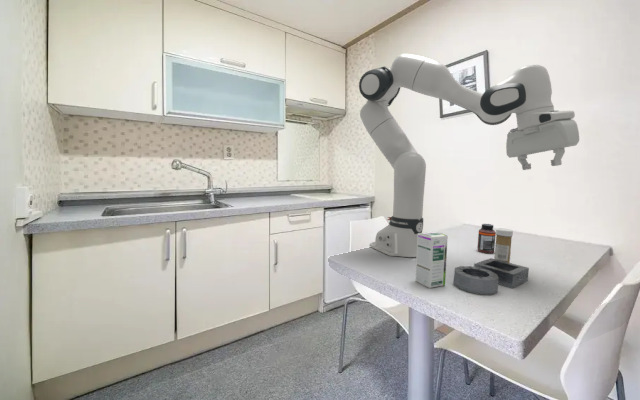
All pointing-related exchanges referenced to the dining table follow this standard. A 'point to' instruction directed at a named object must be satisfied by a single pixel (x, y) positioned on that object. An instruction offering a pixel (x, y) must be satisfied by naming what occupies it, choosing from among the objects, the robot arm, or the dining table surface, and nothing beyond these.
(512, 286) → the square socket
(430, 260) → the syrup box
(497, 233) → the sprinkles bottle
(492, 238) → the supplement bottle
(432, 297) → the dining table surface
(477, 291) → the round socket
